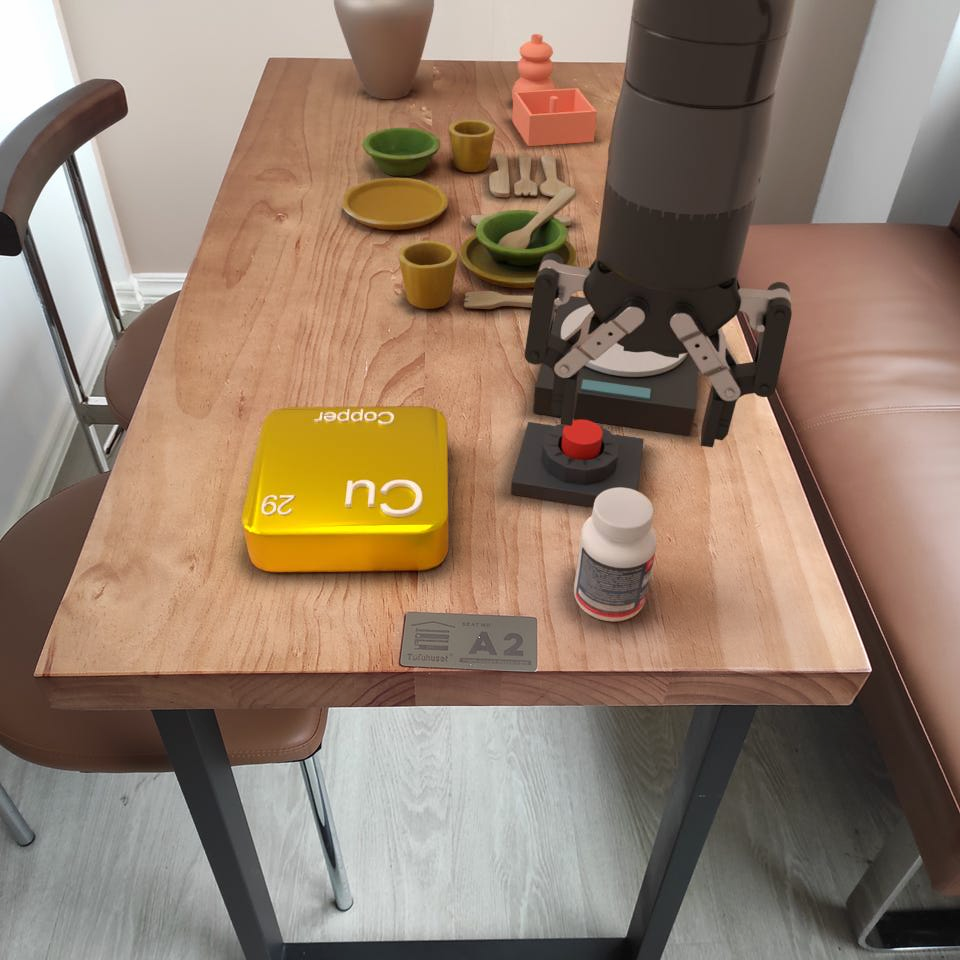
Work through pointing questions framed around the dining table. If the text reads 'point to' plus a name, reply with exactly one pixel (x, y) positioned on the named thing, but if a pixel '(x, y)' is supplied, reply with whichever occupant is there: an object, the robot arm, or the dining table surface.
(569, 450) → the button
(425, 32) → the vase
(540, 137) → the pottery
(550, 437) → the block
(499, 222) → the tableware set
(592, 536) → the pill bottle
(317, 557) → the element tile
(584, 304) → the scale
